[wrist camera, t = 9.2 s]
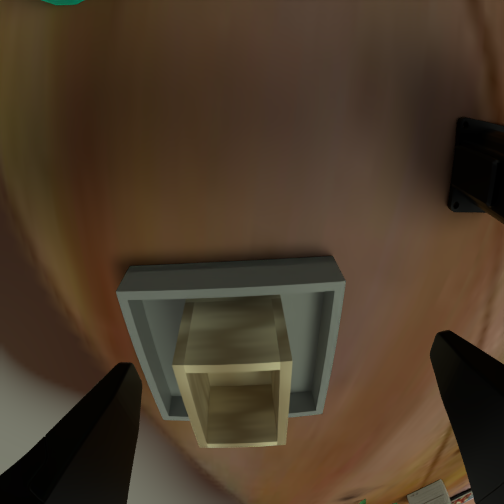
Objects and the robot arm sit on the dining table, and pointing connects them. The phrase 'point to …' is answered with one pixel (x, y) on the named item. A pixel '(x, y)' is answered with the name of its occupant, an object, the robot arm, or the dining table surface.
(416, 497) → the supplement box
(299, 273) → the grey tray
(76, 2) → the candle
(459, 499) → the ceramic plate
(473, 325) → the dining table surface
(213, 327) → the birch crate
